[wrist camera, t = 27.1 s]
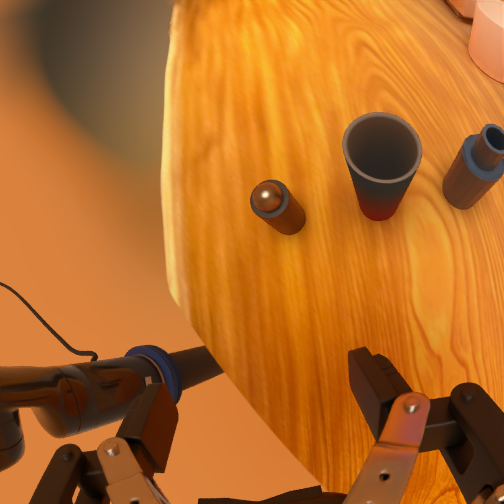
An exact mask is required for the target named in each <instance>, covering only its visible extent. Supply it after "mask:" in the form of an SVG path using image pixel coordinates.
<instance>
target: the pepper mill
mask: <svg viewBox="0 0 504 504" xmlns="http://www.w3.org/2000/svg"><path fill="white" fill-rule="evenodd" d="M250 204H251V208H252V210H253V211H254V213H255V214H256V215H258V216H259V217H260V218H262V219H263V220H264V221H266V222H267V223H268V224H270V225H271V226H272V227H273V228H275V229H276V230H277V231H279V232H280V233H282V234H285V235H292V234H295V233H297V232H298V231H300V230H301V229H302V227H303V226H304V223H305V213H304V210H303V209H302V207H301V206H300V205H299V203H298V202H297V201H296V199H295V198H294V197H293V195H292V194H291V193H290V191H289V190H288V189H287V187H286V186H285V185H284V184H283V183H282V182H280V181H277V180H266V181H264V182H262V183H260V184H259V185H257V186H256V188H255V189H254V190H253V192H252V194H251V198H250Z"/></svg>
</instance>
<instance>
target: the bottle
mask: <svg viewBox="0 0 504 504" xmlns="http://www.w3.org/2000/svg"><path fill="white" fill-rule="evenodd" d="M503 172H504V131H503V129H502V128H501V127H499V126H497V125H495V124H486V125H485V126H484V127H483V129H482V131H481V132H480V134H476V135H470V136H469V137H467V138H466V139H465V141H464V143H463V145H462V147H461V148H460V150H459V152H458V154H457V156H456V158H455V160H454V162H453V164H452V165H451V167H450V169H449V171H448V173H447V174H446V176H445V178H444V181H443V192H444V195H445V197H446V199H447V200H448V202H449V203H450V204H451V205H453V206H454V207H456V208H458V209H468V208H470V207H472V206H473V205H474V204H475V203H476V202H477V201H478V200H479V199H480V198H481V197H482V196H483V195H484V194H485V193H486V192H487V191H488V190H489V189H490V188H491V187H492V186H493V185H494V184H495V183H496V182H497V181H498V180H499V179H500V178H501V177H502V175H503Z"/></svg>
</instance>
